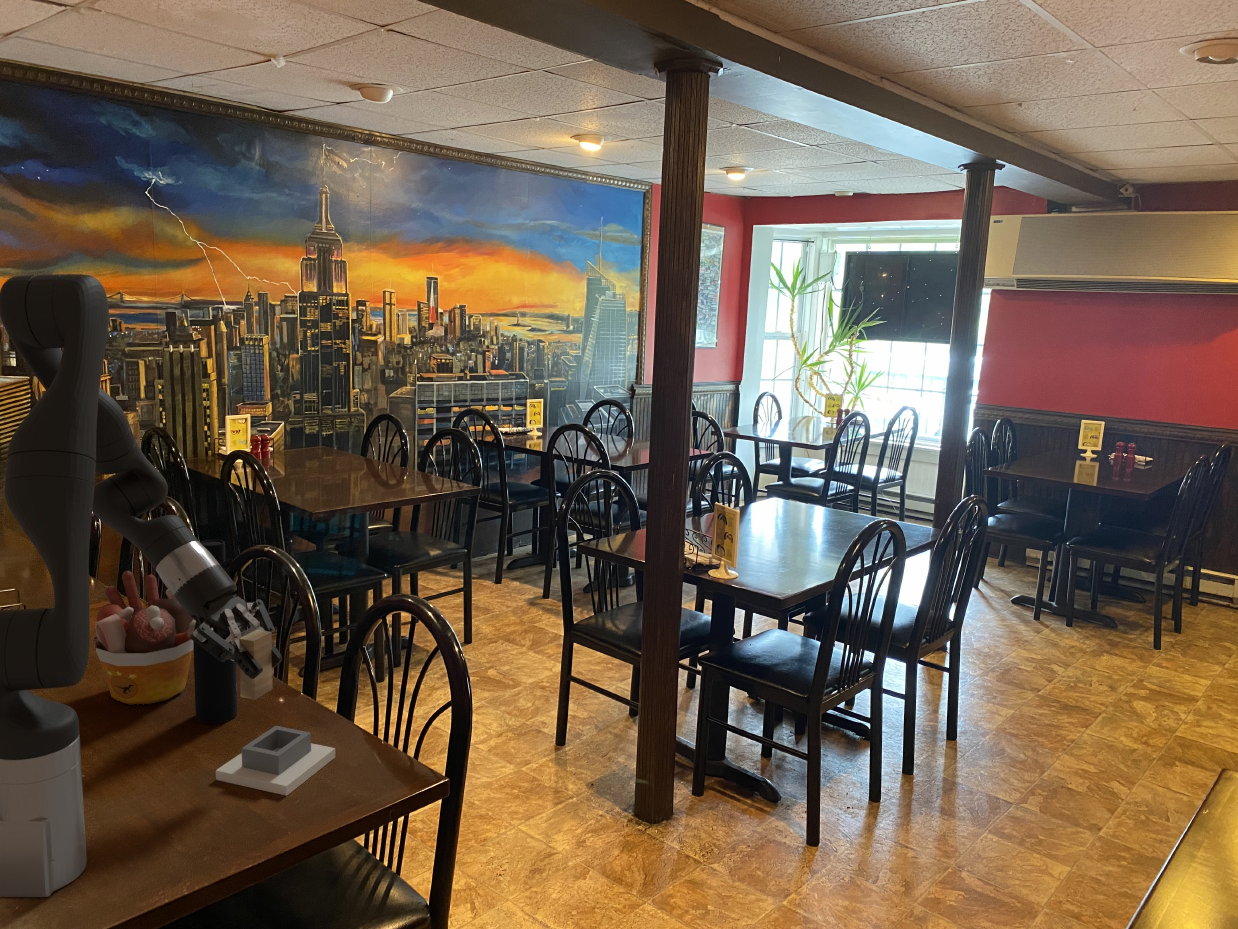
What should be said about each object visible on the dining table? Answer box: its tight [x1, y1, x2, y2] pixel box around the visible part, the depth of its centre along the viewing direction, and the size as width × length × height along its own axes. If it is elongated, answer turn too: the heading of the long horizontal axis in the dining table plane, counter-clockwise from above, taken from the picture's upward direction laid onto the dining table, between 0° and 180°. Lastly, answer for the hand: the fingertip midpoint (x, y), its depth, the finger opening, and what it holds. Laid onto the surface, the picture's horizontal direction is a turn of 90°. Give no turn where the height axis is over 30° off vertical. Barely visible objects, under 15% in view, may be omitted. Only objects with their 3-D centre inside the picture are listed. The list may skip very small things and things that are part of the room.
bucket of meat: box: [93, 570, 196, 706], centre depth 159 cm, size 20×16×20 cm
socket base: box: [215, 725, 336, 797], centre depth 137 cm, size 12×12×4 cm
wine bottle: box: [193, 539, 238, 725], centre depth 150 cm, size 6×6×30 cm
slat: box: [239, 630, 273, 701], centre depth 134 cm, size 2×4×9 cm, turn 164°
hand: (267, 669), depth 134 cm, fingers closed on slat, 4 cm apart
